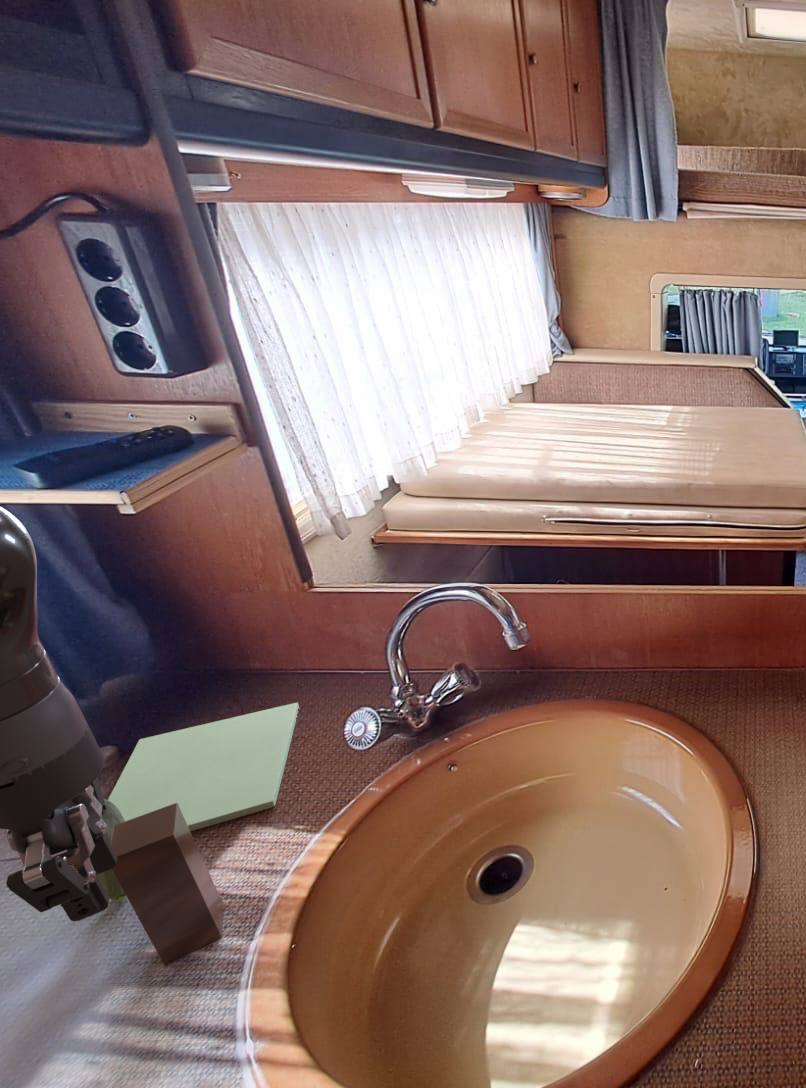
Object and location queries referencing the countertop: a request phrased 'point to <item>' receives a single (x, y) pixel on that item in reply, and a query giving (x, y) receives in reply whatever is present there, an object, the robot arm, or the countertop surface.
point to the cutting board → (209, 768)
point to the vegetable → (110, 819)
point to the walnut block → (167, 882)
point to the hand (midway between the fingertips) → (96, 890)
